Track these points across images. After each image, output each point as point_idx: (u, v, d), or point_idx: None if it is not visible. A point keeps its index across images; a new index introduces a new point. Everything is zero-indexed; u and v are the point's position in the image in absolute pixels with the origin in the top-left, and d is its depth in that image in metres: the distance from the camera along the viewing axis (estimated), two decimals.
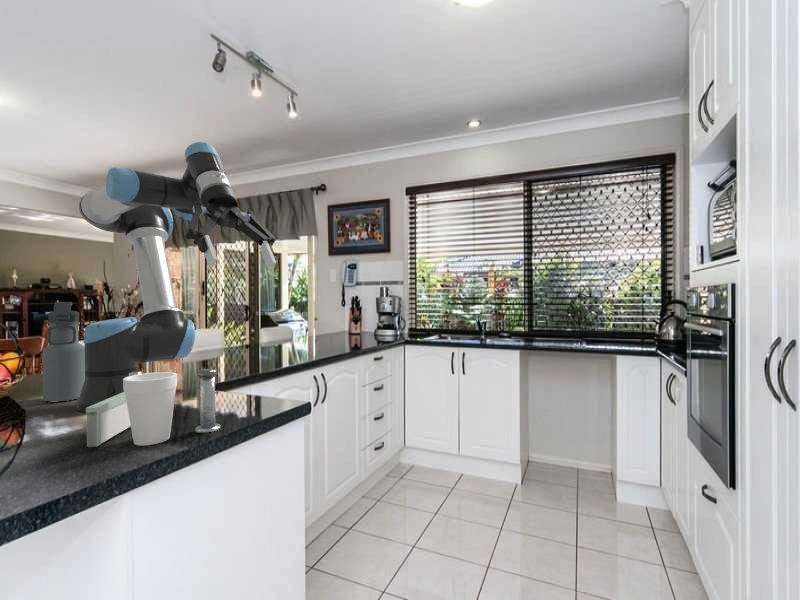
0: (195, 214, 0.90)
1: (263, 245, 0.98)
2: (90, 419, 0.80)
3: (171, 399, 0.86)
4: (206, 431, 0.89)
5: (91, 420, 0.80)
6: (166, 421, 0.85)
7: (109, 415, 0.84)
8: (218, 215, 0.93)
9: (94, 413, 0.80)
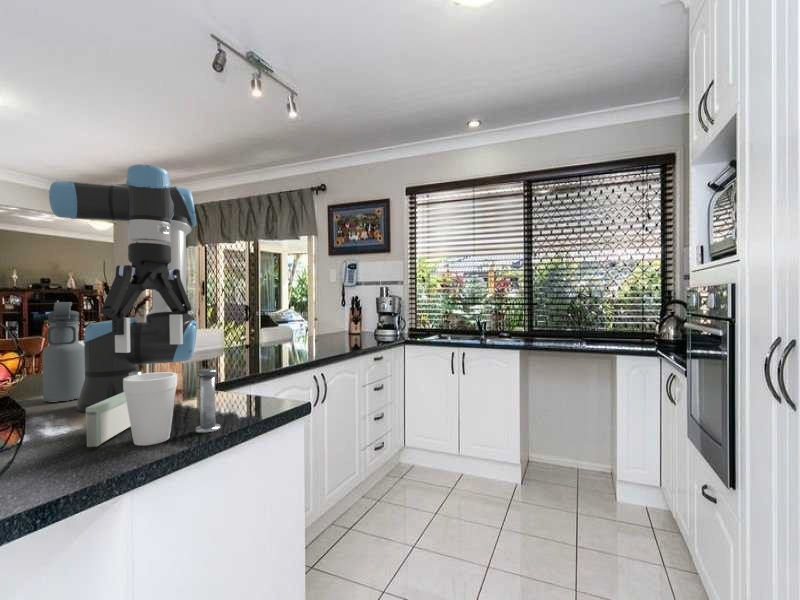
0: (123, 286, 0.78)
1: (176, 317, 0.92)
2: (90, 419, 0.80)
3: (171, 399, 0.86)
4: (206, 431, 0.89)
5: (91, 420, 0.80)
6: (166, 421, 0.85)
7: (109, 415, 0.84)
8: (146, 286, 0.82)
9: (94, 413, 0.80)
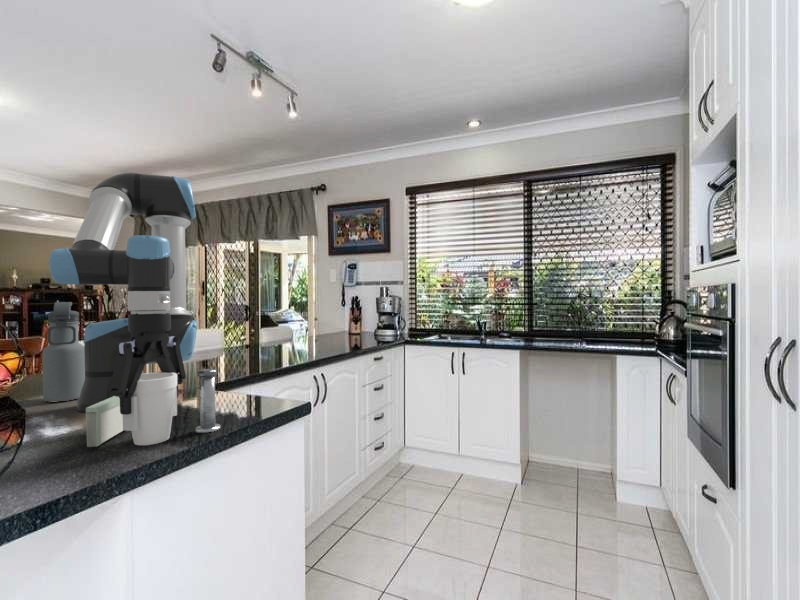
0: (126, 365, 0.79)
1: None
2: (90, 419, 0.80)
3: (171, 399, 0.86)
4: (206, 431, 0.89)
5: (91, 420, 0.80)
6: (166, 421, 0.85)
7: (109, 415, 0.84)
8: (148, 358, 0.83)
9: (94, 413, 0.80)
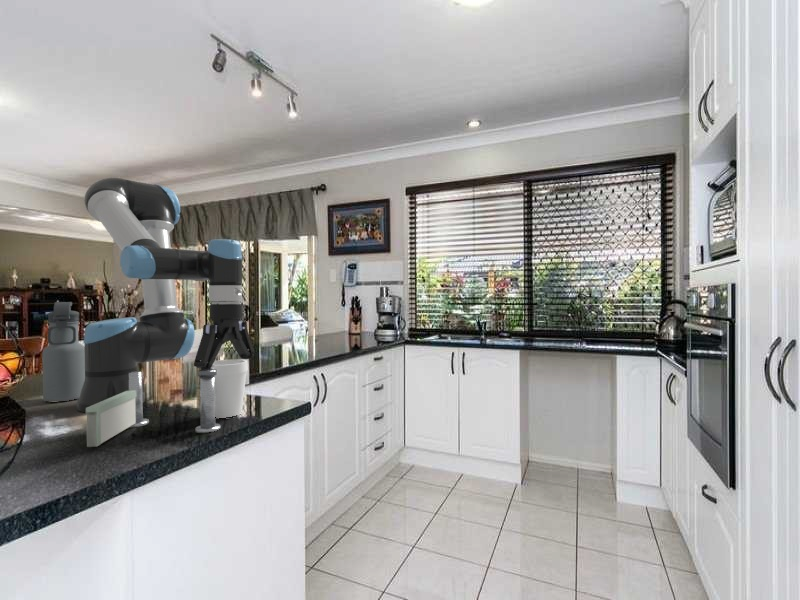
0: (210, 342, 0.95)
1: None
2: (90, 419, 0.80)
3: (244, 381, 1.03)
4: (206, 431, 0.89)
5: (91, 420, 0.80)
6: (240, 399, 1.02)
7: (109, 415, 0.84)
8: (225, 339, 1.00)
9: (94, 413, 0.80)
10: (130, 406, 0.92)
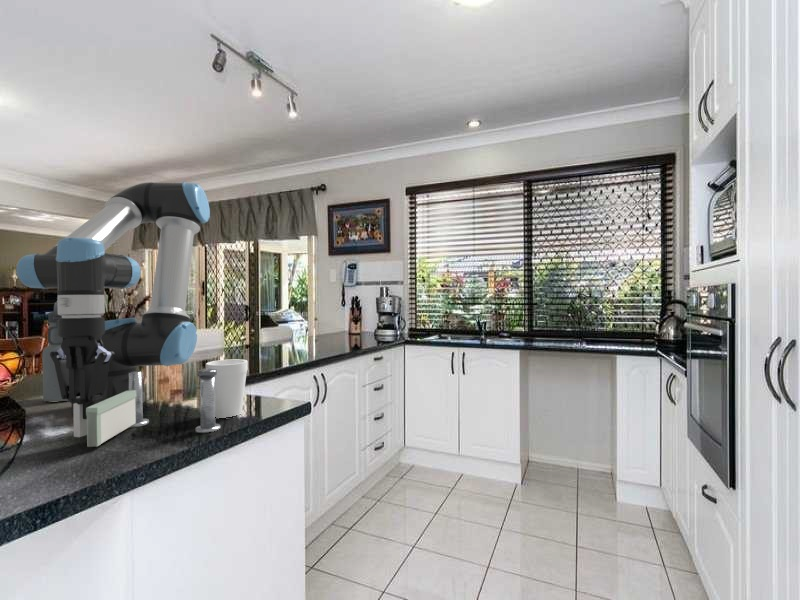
0: (57, 372, 0.83)
1: None
2: (90, 419, 0.80)
3: (244, 381, 1.03)
4: (206, 431, 0.89)
5: (91, 420, 0.80)
6: (240, 399, 1.02)
7: (109, 415, 0.84)
8: (70, 363, 0.82)
9: (94, 413, 0.80)
10: (130, 406, 0.92)
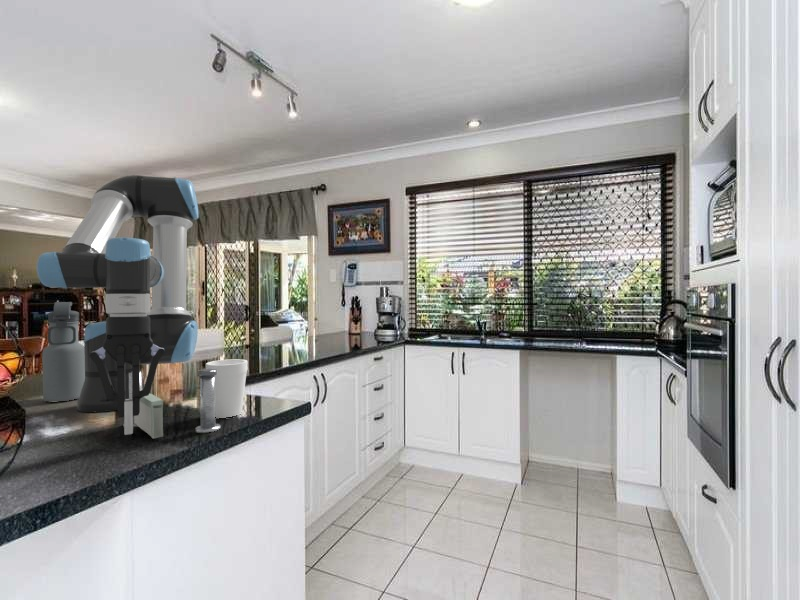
0: (100, 372, 0.81)
1: None
2: (156, 412, 0.84)
3: (244, 381, 1.03)
4: (206, 431, 0.89)
5: (157, 413, 0.85)
6: (240, 399, 1.02)
7: None
8: (122, 362, 0.83)
9: (160, 405, 0.85)
10: None
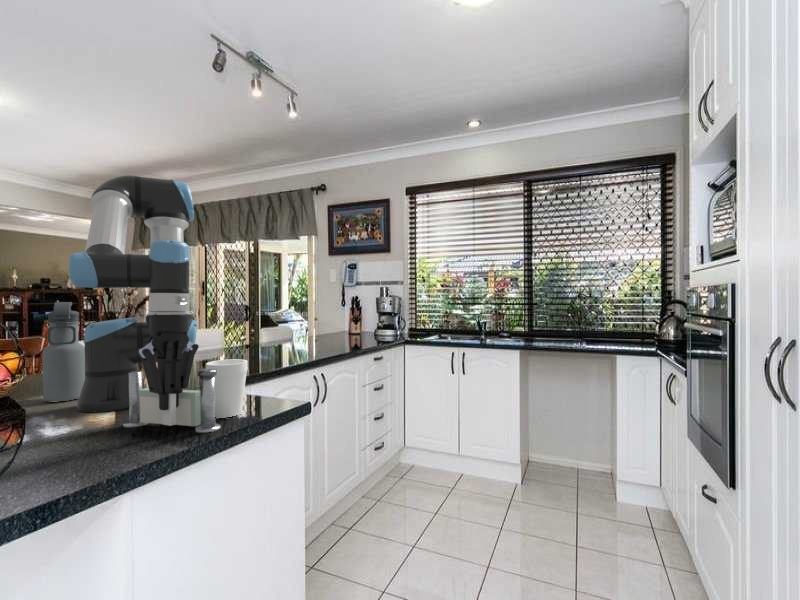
0: (152, 368, 0.85)
1: None
2: (197, 402, 0.92)
3: (244, 381, 1.03)
4: (206, 431, 0.89)
5: (198, 402, 0.93)
6: (240, 399, 1.02)
7: None
8: (170, 357, 0.88)
9: (199, 396, 0.93)
10: None
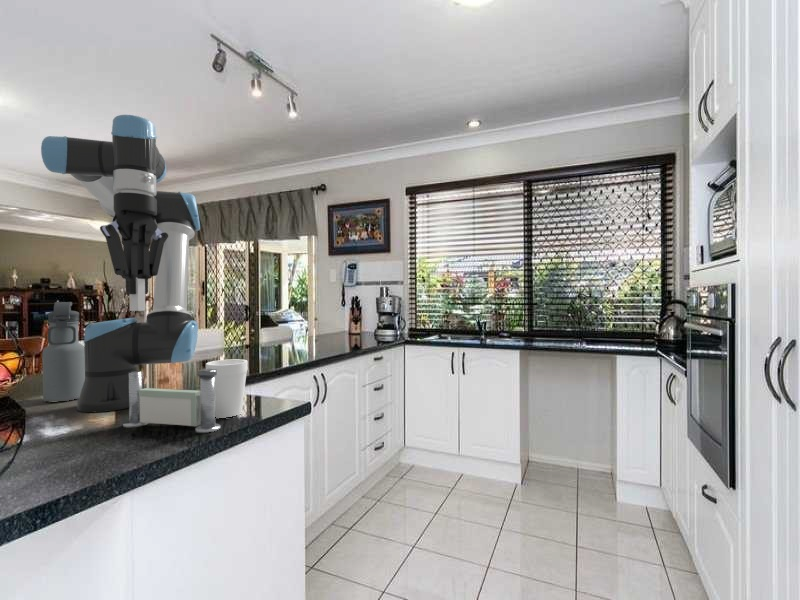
0: (117, 246, 0.81)
1: None
2: (197, 402, 0.92)
3: (244, 381, 1.03)
4: (206, 431, 0.89)
5: (198, 402, 0.93)
6: (240, 399, 1.02)
7: None
8: (137, 238, 0.84)
9: (199, 396, 0.93)
10: None
